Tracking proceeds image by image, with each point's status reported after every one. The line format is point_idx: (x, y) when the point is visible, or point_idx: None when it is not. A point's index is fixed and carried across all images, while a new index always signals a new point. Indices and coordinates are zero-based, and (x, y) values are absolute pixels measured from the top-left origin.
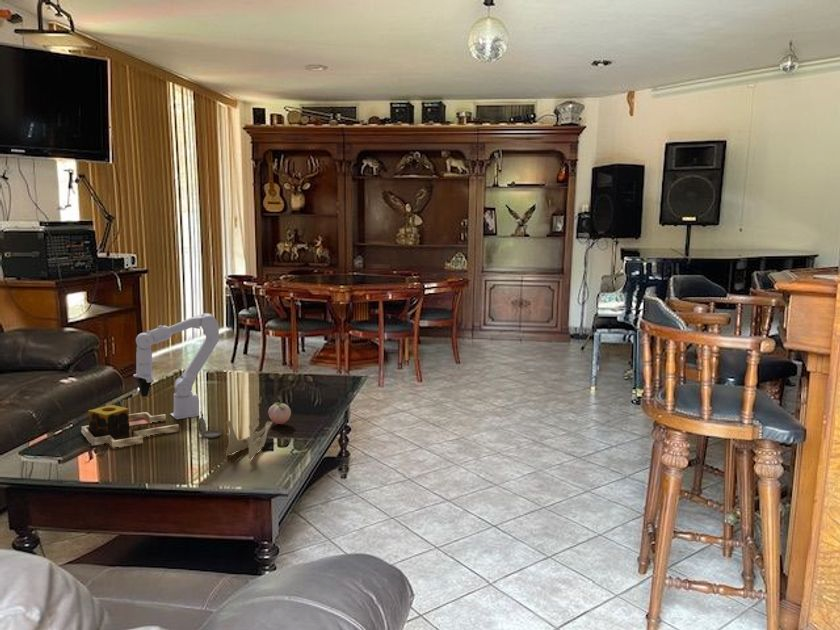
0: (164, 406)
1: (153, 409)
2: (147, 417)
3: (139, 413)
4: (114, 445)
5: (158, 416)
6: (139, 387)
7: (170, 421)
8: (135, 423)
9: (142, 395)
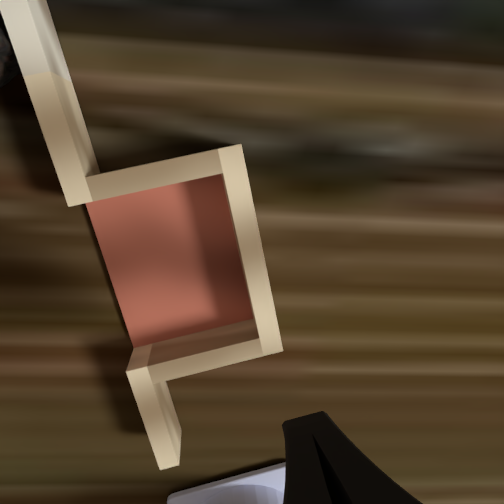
0: (484, 428)
1: (451, 369)
2: (192, 344)
3: (257, 299)
4: None
5: (144, 423)
6: (373, 500)
7: (142, 459)
8: (135, 252)
9: (285, 436)
